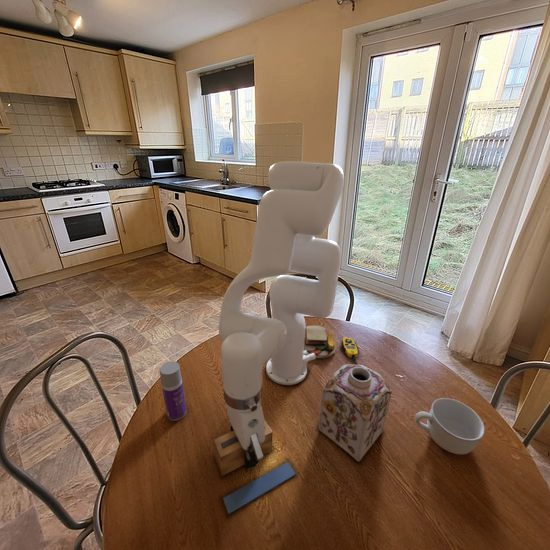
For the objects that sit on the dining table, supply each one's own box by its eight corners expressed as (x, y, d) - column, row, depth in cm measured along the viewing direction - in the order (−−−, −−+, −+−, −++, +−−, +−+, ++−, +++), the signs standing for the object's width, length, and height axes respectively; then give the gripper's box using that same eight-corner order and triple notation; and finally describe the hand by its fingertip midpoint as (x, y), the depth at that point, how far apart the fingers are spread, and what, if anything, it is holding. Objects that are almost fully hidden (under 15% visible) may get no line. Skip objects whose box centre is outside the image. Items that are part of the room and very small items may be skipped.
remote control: (353, 336, 103) (366, 366, 90) (353, 341, 104) (365, 370, 90) (340, 336, 103) (350, 365, 89) (339, 340, 104) (350, 370, 90)
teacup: (468, 428, 73) (477, 404, 70) (480, 469, 64) (492, 445, 60) (408, 411, 77) (414, 389, 74) (411, 448, 68) (419, 424, 64)
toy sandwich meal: (298, 357, 95) (298, 346, 93) (300, 333, 107) (301, 322, 105) (336, 362, 94) (338, 350, 92) (334, 336, 106) (336, 325, 104)
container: (180, 422, 72) (173, 376, 66) (163, 418, 73) (154, 373, 67) (189, 407, 77) (183, 362, 70) (173, 404, 77) (165, 359, 71)
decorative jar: (343, 402, 79) (352, 349, 72) (383, 430, 72) (398, 374, 64) (315, 429, 71) (322, 373, 64) (357, 464, 64) (371, 405, 56)
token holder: (263, 434, 70) (263, 416, 67) (272, 449, 67) (272, 431, 64) (215, 457, 65) (213, 439, 62) (222, 476, 61) (220, 457, 59)
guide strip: (288, 462, 64) (288, 461, 64) (295, 475, 62) (295, 474, 62) (223, 499, 57) (222, 498, 57) (228, 514, 55) (228, 513, 55)
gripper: (281, 416, 53) (278, 477, 60) (242, 359, 67) (244, 414, 74) (243, 434, 49) (245, 496, 57) (210, 370, 63) (215, 426, 70)
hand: (244, 449), depth 65 cm, fingers open, 7 cm apart
